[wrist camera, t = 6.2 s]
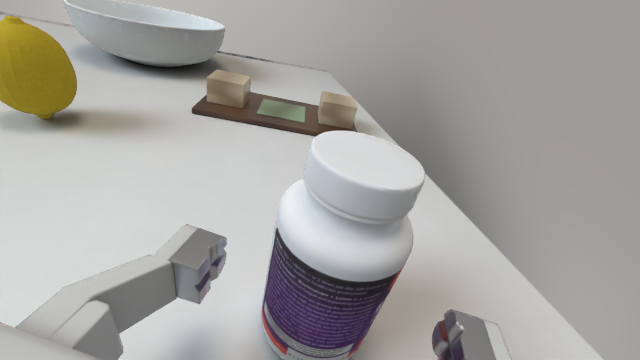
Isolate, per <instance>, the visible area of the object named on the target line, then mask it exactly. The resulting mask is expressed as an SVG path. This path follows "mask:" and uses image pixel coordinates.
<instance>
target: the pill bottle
mask: <svg viewBox="0 0 640 360" xmlns="http://www.w3.org/2000/svg"><path fill="white" fill-rule="evenodd" d="M424 181H425V172H424V169H423V167H422V165H421V164H420V163H419V162H418V160H416V158H414V157H413V156H412V155H411V154H409V153H408V152H407V151H405V150H403V149H402V148H400V147H398V146H397V145H395V144H393V143H391V142H388V141H386V140H383V139H381V138H377V137H374V136H371V135H368V134H364V133H359V132H353V131H328V132H324V133H322V134H319V135H318V136H316V137H315V138H314V139H313V141H312V143H311V146H310V150H309V154H308V157H307V161H306V164H305V167H304V178H303V179H300V180H299V181H297V182H295V183H294V184H293V185H291V186H290V187H289V188H288V189H287V191H286V192H285V193H284V195H283V197H282V199H281V201H280V204H279V207H278V212H277V217H276V223H275V229H274V235H273V241H272V247H271V253H270V259H269V265H268V271H267V277H266V283H265V288H264V294H263V300H262V307H261V321H262V327H263V331H264V334H265V336H266V338H267V341H268V342H269V344H270V346H271V347H272V349H273V350H274V351H275V352H276V353H277V354H278V355H279V356H280V357H281V358H282V359H283V360H348V359H349V358H350V357H351V356H352V355H353V354H354V353H355V352H356V350H357V349H358V347H359V346H360V344H361V343H362V341H363V339H364V337H365V336H366V334H367V332H368V330H369V328H370V326H371V324H372V323H373V321H374V319H375V317H376V315H377V313H378V312H379V310H380V308H381V306H382V304H383V303H384V301H385V299H386V297H387V295H388V294H389V292H390V290H391V288H392V286H393V284H394V283H395V281H396V279H397V277H398V275H399V274H400V272H401V270H402V268H403V267H404V265H405V263H406V261H407V259H408V257H409V255H410V253H411V250H412V246H413V229H412V226H411V222H410V220H409V218H408V216H407V214H408V212H409V211H410V210H411V209H412V208H413V206H414V203H415V201H416V198H417V196H418V194H419V192H420V190H421V188H422V186H423V184H424Z"/></svg>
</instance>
